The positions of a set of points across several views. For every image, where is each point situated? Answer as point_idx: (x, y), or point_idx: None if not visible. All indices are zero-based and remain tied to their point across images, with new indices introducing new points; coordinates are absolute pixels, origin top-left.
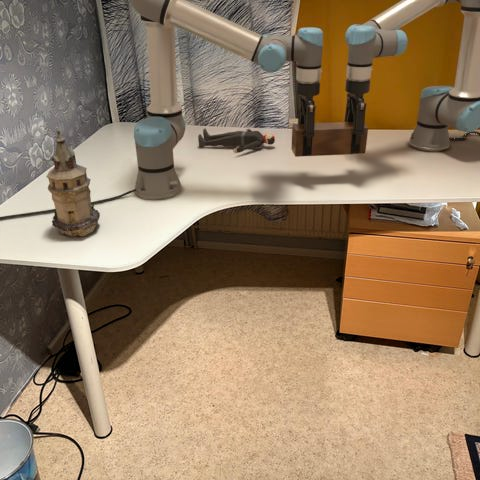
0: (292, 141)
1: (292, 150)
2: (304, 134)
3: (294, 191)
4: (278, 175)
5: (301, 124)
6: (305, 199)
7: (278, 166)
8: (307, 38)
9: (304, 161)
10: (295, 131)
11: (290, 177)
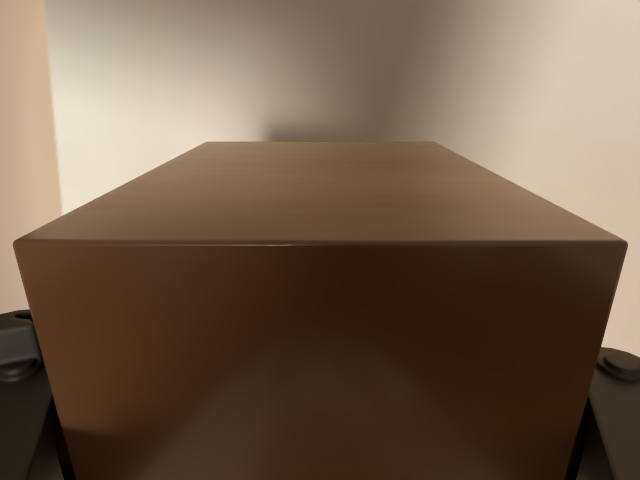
0: (409, 159)
1: (369, 142)
2: (20, 368)
3: (177, 106)
4: (448, 41)
5: (514, 438)
6: (64, 150)
7: (607, 69)
8: None
9: (629, 254)
10: (140, 222)
11: (398, 120)
